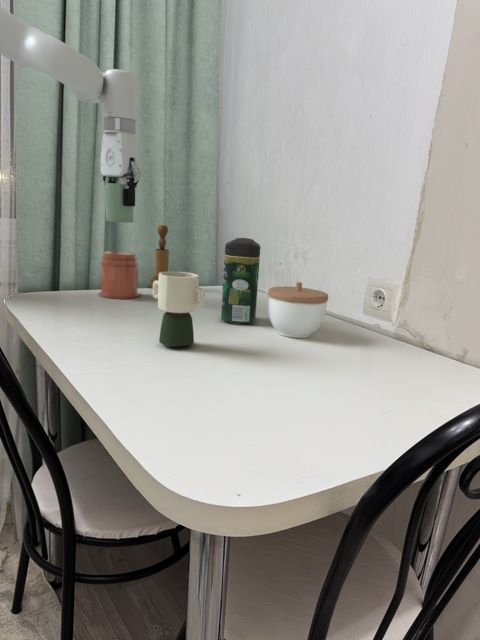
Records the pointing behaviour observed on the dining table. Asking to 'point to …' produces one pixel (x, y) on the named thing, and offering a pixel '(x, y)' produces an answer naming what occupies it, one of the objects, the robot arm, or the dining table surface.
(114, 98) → the robot arm
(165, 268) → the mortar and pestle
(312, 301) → the lidded bowl
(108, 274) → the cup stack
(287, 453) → the dining table surface
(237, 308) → the coffee jar
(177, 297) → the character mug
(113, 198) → the cup
